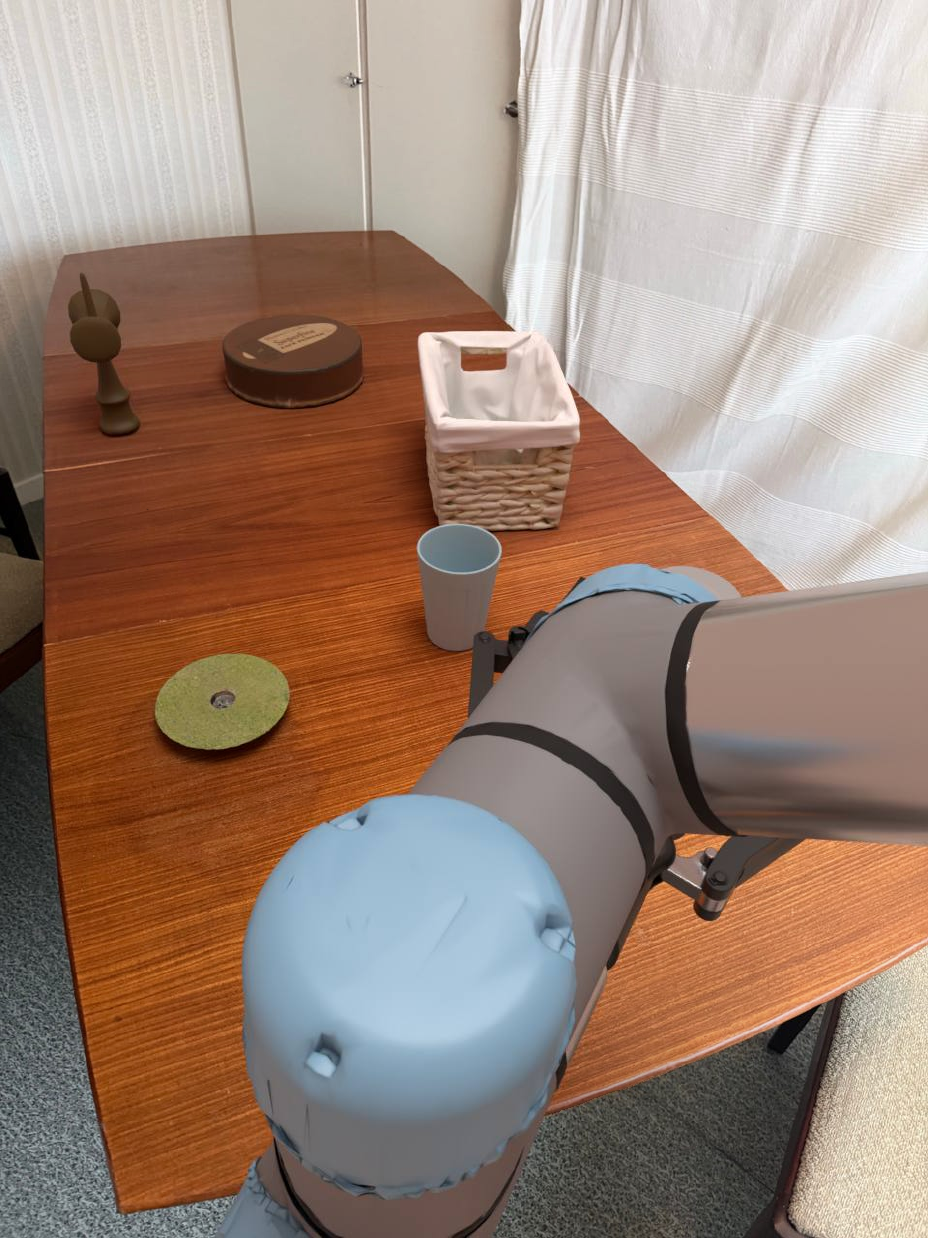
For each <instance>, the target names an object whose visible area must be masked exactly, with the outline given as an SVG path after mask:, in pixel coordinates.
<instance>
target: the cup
mask: <svg viewBox="0 0 928 1238" xmlns="http://www.w3.org/2000/svg"><path fill="white" fill-rule="evenodd" d="M502 552H503V548H502V544H501V543H500V541H499V539H498V538H497V536H495V535H494V534H493V533H491V532H490V531H489V530H484V529H482V528H480V527H476V526H473V525H467V524H447V525H442V526H436V527H433V528H431V529H429V530H427V531H426V532H425V533H423V534H422V536H421V537H420V538H419V539H418V541H417V545H416V553H417V561H418V569H419V576H420V584H421V593H422V600H423V608H424V615H425V616H424V617H425V624H426V632H427V636H428V638H429V640H430V641H431V642H432V643H433V644H434V645H435V646H436V647H438V648H440V649H442V650H445V651H450V652H462V651H463V652H464V651H468V650H470V649H473V641H474V636H475V634H477V633H478V632H481V631H485V629H486V625H487V620H488V616H489V611H490V606H491V603H492V597H493V594H494V589H495V584H496V579H497V575H498V572H499V567H500V564H501V557H502Z"/></svg>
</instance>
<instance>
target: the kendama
mask: <svg viewBox="0 0 928 1238" xmlns="http://www.w3.org/2000/svg"><path fill="white" fill-rule="evenodd" d="M79 281H80V286H81V287H80V288H81V290H78V291H77V292H75V293H74V294H73V295H71V297H70V299H69V302H68V304H67V310H68V311H67V313H68V317H69V319H70V322H71V324H72V325H71V327H70V330H69V342H70V345H71V346H72V348H73V351H74V352H75V353H76V354H77V355H78V356H79V358H81V359H82V360H84V361H88V362H90V363H96V371H97V386H98V387H97V391H95V394H94V400H95V402H96V403H98V405H99V406H100V409H101V410H100V411H101V418H100V420H99V424H98V426H99V428H100V430H101V431H102V432H103V433H106V434H107V435H115V436H116V435H125V434H129V433H132V432H134V431H136V429H138V428H139V427H140V422H141V421H140V418H139V417H138V415H137V414H135V412H133V410H132V408H131V405H130V397H131V392H130V390H129V389H128V388H127V387H125V386H124V385H123V383H122V382H121V380H120V378H119V376H118V373H117V371H116V369H115V366H114V364H113V361H112V360H113V359H115V358H116V357H118V355H119V353H120V351H121V348H122V337H121V334H120V332H119V330H118V329H119V327H120V324H121V310H120V308H119V306H118V304H117V303H118V302H117V301H116V300H115V299H114V298H113V297H112V296H111V294H109V293H107V292H106V291H103V290H101V289H95V288H90V286H89V282H88V279H87V277H86V275H85V273H84V272H80V273H79Z"/></svg>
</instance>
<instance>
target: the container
mask: <svg viewBox="0 0 928 1238" xmlns="http://www.w3.org/2000/svg"><path fill="white" fill-rule="evenodd" d="M221 347H222V354H223V358H224V366H225V372H226V373H225V374H226V378H225V379H226V383H227V385H228V388H229V389H230V390H231V391H232V392H233V393H234V394H235V395H237V396H238V397H240V398H241V399H242V400H243V399H244V400H245V401H247V402H251V403H253V404H257V405H261V406H267V407H271V408H272V407H274V408H279V409H301V408H302V409H303V408H308V407H309V408H310V407H318V406H321V405H325V404H329V403H334V402H336V401H338V400H341V399H344V398H345V397H347V396H349V395H351V394H352V393H353V392H355V391H356V390H357V389H358V388H359V386H360V385H361V384H362V383H363V380H364V378H365V373H364V371H365V369H364V365H363V364H364V363H363V342H362V338H361V335H360V334H359V333H358V332H357V330H355V329H354V328H353V327H351V326H350V325H348V324H347V323H344V322H341V321H339V320H336V319H334V318H330V317H326V316H319V315H316V314H315V315H314V314H305V313H304V314H303V313H301V314H300V313H299V314H297V313H295V314H294V313H293V314H292V313H290V314H289V313H288V314H277V315H269V316H265V317H261V318H256V319H253V320H250V321H246V322H244V323H242V324H240V325H238V326H236V327H234V328H233V329H231V330H230V331H229V332H228V333H227V334H226V335H225V337H224V338H223V340H222V344H221Z"/></svg>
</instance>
